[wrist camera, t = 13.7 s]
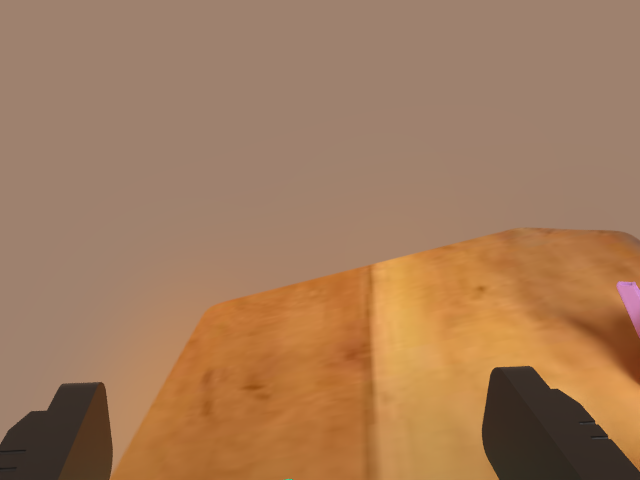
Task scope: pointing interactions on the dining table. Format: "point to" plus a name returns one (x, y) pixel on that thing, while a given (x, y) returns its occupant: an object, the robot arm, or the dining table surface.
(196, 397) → the dining table surface
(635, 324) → the teakettle
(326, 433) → the dining table surface
